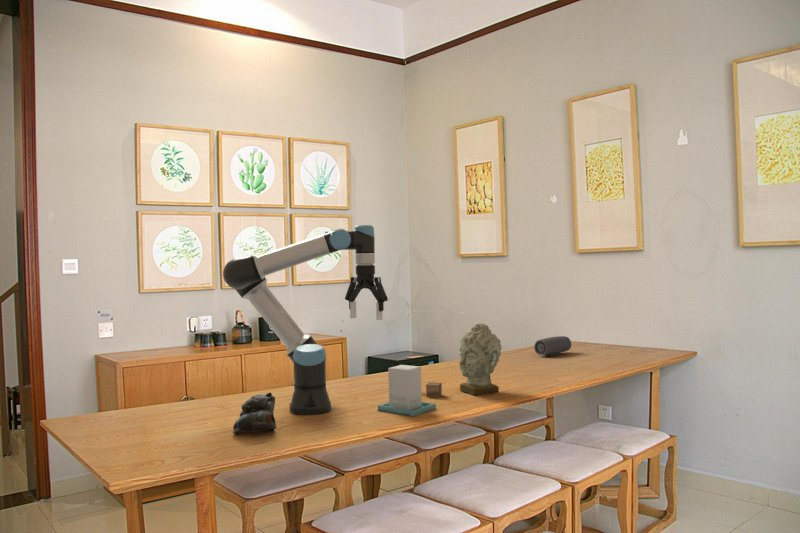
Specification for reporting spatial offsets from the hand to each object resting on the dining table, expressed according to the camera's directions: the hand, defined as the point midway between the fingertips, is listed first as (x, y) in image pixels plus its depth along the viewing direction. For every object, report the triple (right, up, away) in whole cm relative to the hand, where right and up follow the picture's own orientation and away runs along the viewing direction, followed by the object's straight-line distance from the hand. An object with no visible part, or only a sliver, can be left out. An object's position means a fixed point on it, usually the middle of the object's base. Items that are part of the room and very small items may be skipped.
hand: (366, 319), depth 254 cm
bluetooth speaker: (+98, -29, +105) cm, 146 cm away
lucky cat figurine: (-34, -33, -44) cm, 65 cm away
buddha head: (+46, -31, +12) cm, 57 cm away
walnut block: (+27, -31, +5) cm, 42 cm away
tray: (+16, -32, -17) cm, 39 cm away
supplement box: (+15, -31, -17) cm, 39 cm away
